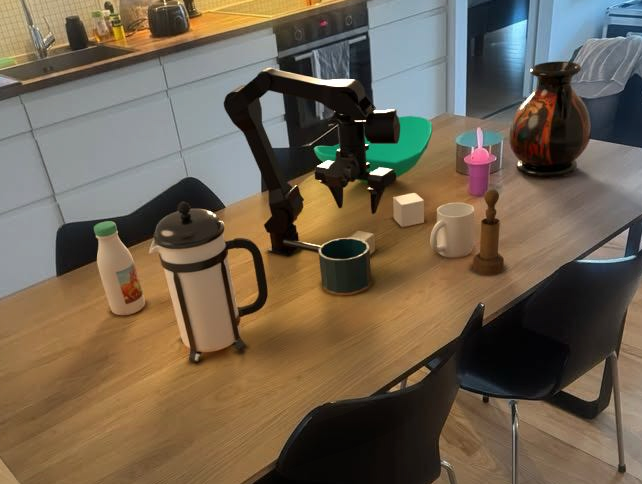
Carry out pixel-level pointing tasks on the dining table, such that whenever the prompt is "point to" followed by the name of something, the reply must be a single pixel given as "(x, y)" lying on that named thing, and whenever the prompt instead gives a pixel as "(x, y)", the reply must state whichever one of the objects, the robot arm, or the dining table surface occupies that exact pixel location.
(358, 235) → the block
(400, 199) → the white cube
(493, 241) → the mortar and pestle
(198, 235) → the coffee press
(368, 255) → the saucepan
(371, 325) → the dining table surface
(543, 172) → the amphora vase
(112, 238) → the milk bottle
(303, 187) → the dining table surface
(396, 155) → the table top decor
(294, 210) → the robot arm
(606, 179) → the dining table surface
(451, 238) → the mug
